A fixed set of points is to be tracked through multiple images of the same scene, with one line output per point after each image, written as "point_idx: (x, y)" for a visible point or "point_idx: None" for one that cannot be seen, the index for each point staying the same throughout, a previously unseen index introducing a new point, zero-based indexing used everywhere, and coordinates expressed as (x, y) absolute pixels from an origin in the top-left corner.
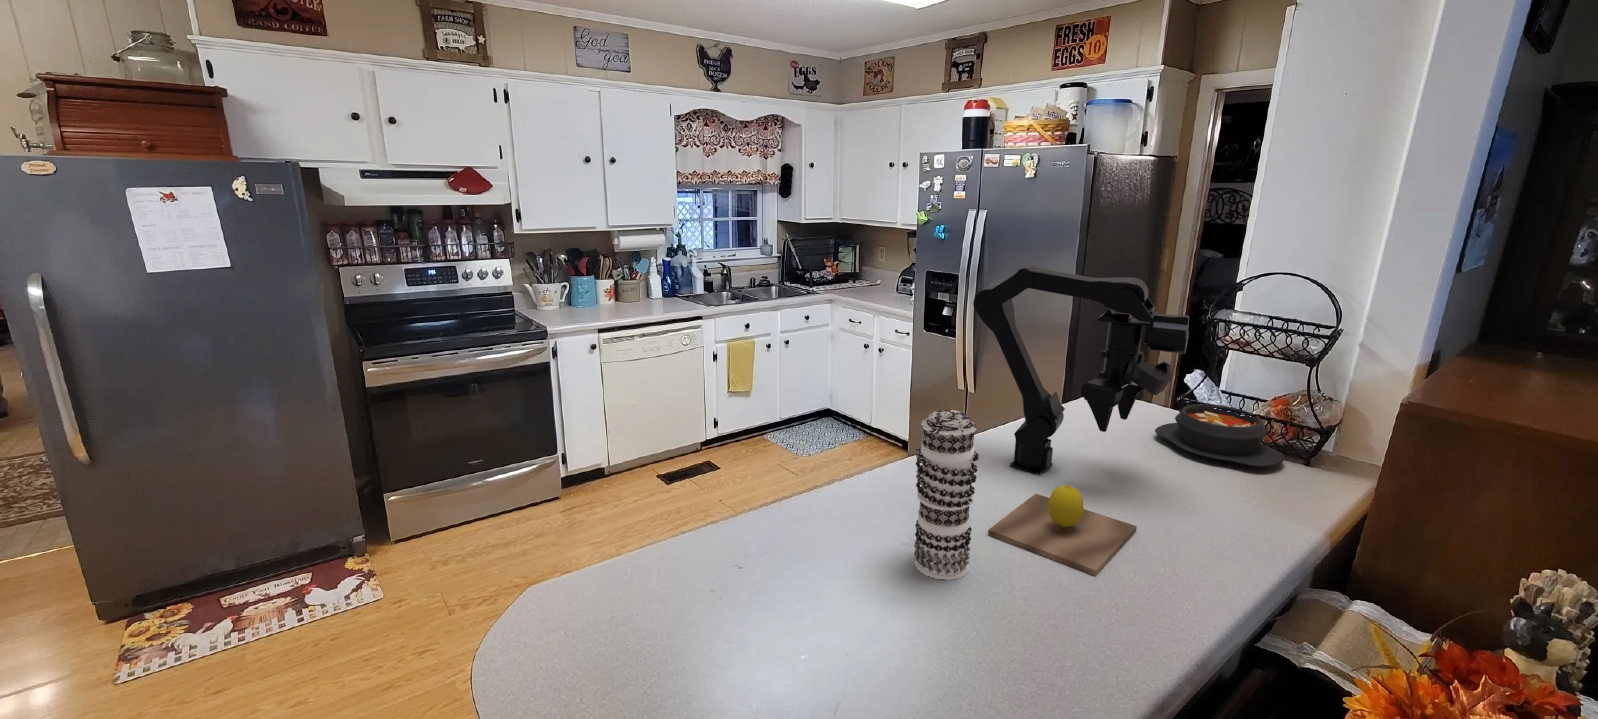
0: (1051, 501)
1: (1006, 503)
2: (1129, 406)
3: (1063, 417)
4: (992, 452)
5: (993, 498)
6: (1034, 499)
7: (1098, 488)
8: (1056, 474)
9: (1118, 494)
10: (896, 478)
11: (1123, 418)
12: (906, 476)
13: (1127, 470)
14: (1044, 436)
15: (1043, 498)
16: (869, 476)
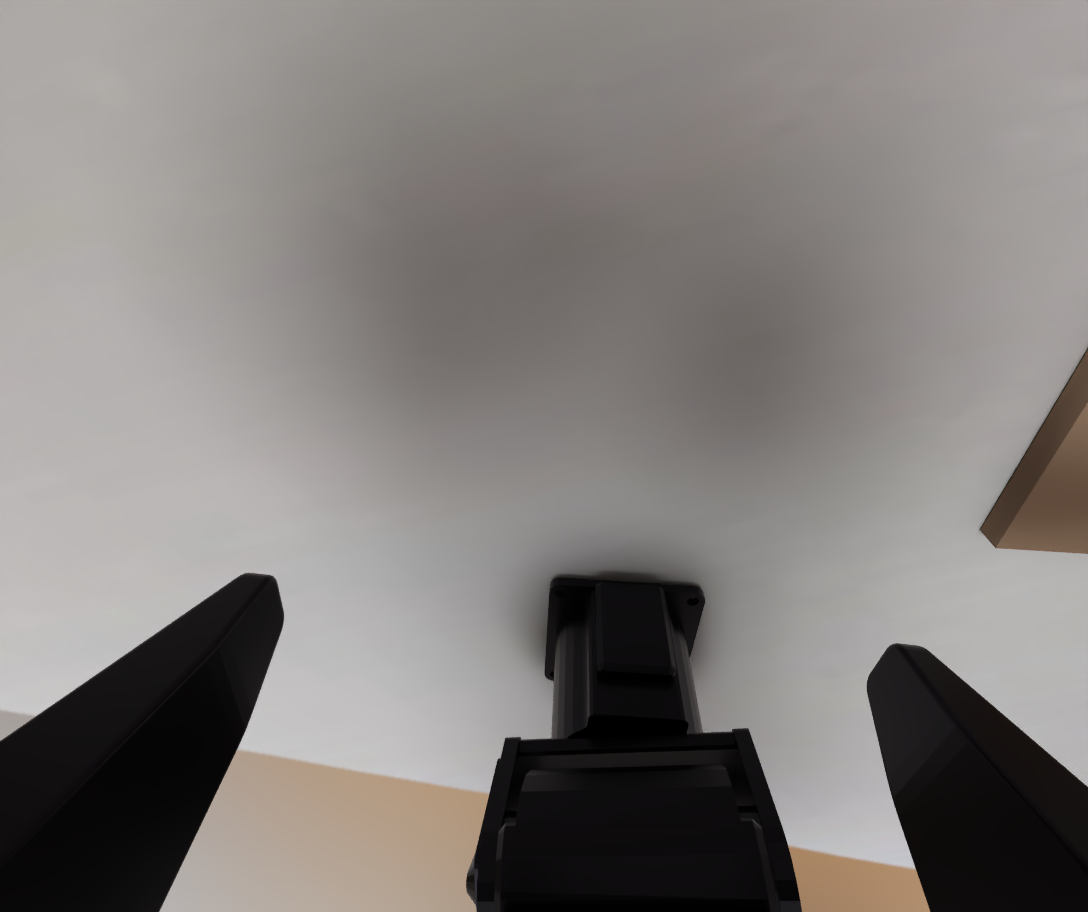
0: None
1: (1081, 593)
2: (126, 754)
3: (506, 839)
4: None
5: (1042, 637)
6: (1075, 532)
7: (697, 334)
8: (641, 536)
9: (721, 209)
10: None
11: (276, 603)
12: None
13: (313, 275)
14: (768, 790)
15: (1049, 507)
16: None
